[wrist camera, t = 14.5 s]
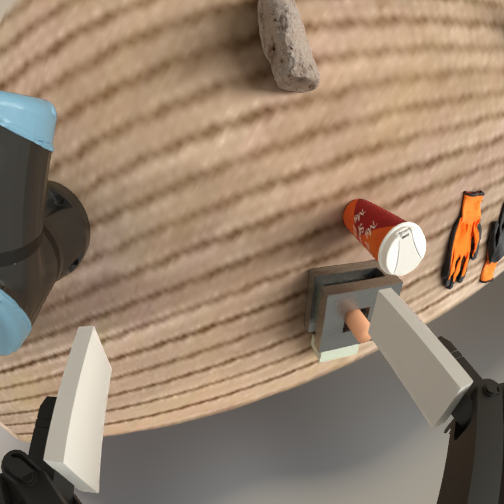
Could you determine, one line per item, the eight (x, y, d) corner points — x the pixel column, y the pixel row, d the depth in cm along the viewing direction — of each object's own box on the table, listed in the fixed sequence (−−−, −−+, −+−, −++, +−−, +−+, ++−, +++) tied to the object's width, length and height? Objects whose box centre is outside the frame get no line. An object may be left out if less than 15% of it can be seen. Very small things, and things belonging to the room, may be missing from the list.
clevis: (303, 323, 57) (318, 352, 50) (309, 268, 51) (327, 295, 44) (368, 311, 59) (387, 336, 52) (379, 259, 54) (403, 282, 47)
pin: (329, 287, 54) (358, 329, 44) (345, 284, 55) (376, 325, 44) (327, 301, 56) (355, 345, 45) (343, 298, 56) (372, 340, 46)
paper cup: (331, 202, 47) (379, 240, 35) (372, 185, 47) (427, 217, 35) (342, 243, 51) (386, 289, 38) (380, 226, 51) (429, 265, 38)
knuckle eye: (310, 344, 60) (319, 362, 56) (319, 277, 53) (331, 294, 48) (346, 337, 61) (356, 353, 57) (359, 271, 54) (373, 286, 50)
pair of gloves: (430, 289, 62) (439, 297, 59) (459, 185, 51) (470, 191, 48) (492, 277, 67) (500, 283, 64) (517, 194, 56) (526, 199, 53)
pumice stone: (317, 90, 39) (351, 89, 30) (265, 97, 38) (288, 95, 29) (298, -5, 31) (327, -28, 23) (245, -2, 31) (261, -29, 22)
